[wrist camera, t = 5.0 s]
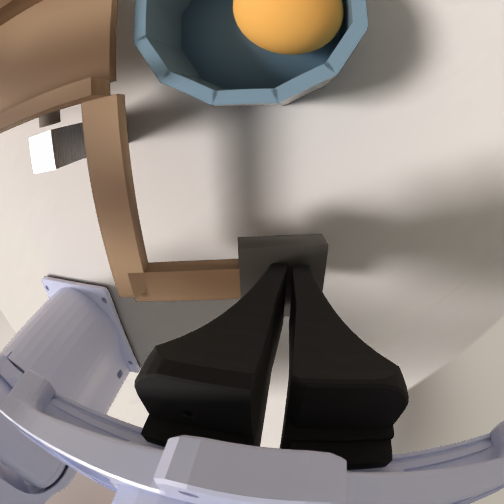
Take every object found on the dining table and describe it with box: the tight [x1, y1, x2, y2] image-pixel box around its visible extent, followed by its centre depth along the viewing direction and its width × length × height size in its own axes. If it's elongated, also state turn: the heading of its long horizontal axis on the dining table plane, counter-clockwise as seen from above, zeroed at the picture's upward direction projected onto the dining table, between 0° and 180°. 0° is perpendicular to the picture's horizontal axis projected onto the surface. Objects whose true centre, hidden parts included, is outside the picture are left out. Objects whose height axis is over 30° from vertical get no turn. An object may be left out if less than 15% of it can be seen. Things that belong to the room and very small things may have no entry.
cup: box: [134, 0, 368, 106], centre depth 8 cm, size 8×8×4 cm
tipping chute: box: [0, 0, 328, 316], centre depth 8 cm, size 16×23×3 cm
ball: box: [233, 0, 344, 55], centre depth 7 cm, size 4×4×4 cm
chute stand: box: [29, 123, 87, 174], centre depth 9 cm, size 11×2×6 cm, turn 1°
